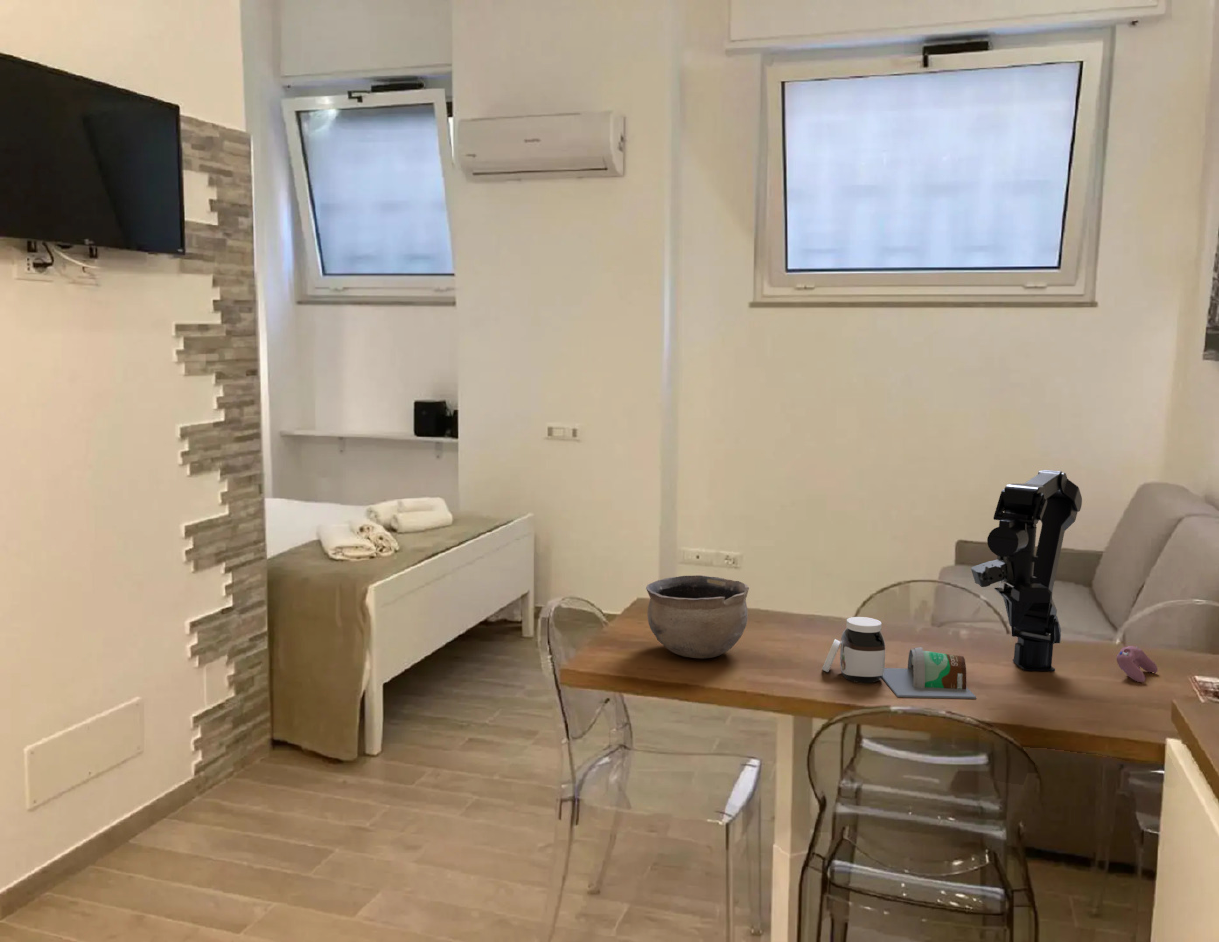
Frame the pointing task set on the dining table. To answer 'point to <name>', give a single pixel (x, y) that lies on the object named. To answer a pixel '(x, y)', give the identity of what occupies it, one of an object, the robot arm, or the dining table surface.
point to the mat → (903, 687)
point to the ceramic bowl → (697, 614)
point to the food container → (937, 669)
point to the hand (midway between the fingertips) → (1013, 626)
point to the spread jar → (860, 651)
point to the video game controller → (1135, 663)
